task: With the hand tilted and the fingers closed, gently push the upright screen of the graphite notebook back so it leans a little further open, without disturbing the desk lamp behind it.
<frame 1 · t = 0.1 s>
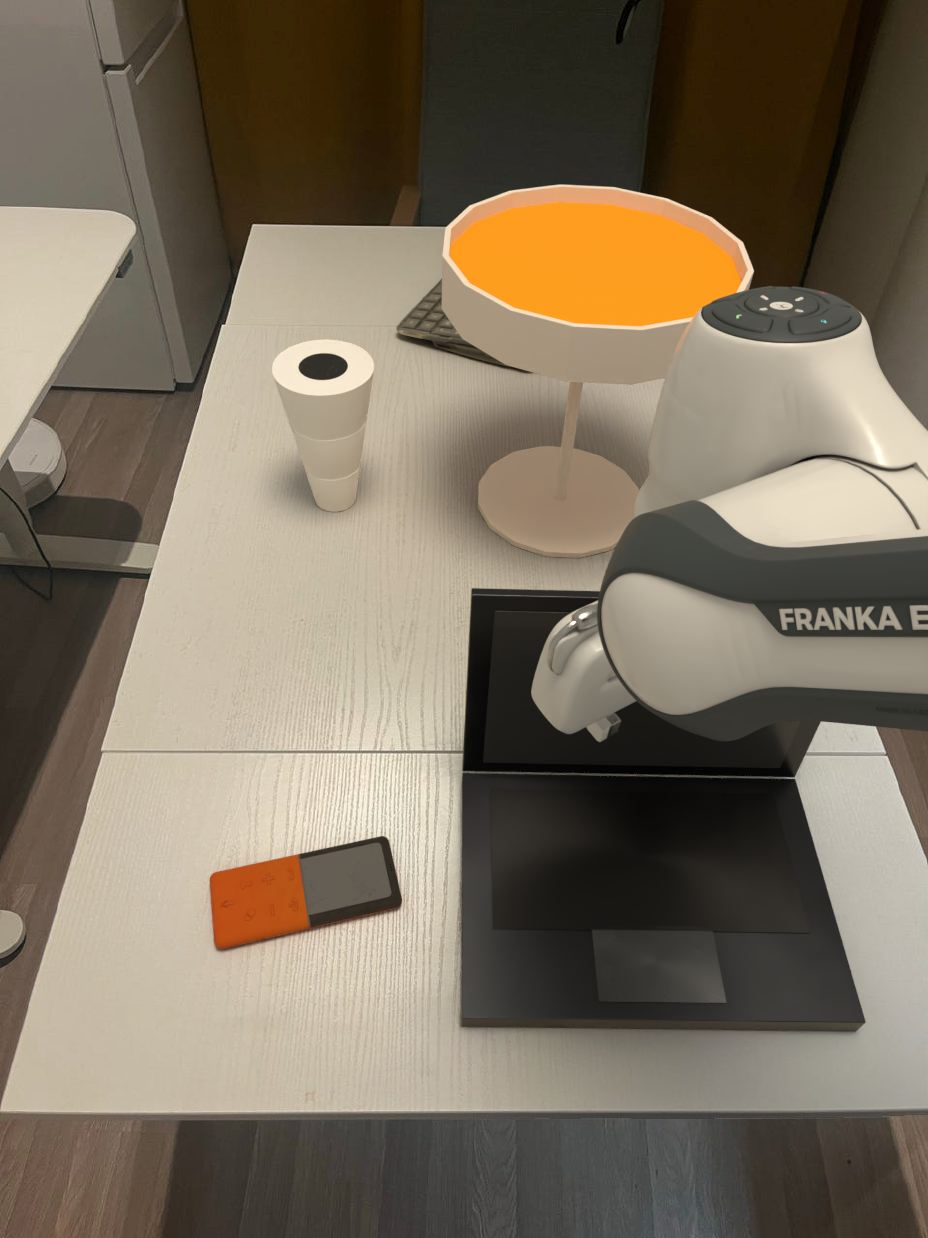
hand: (654, 702, 62), 21 cm above the table, tool pointing down, fingers open, 8 cm apart
notebook: (641, 897, 74), on the table
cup: (335, 499, 107), on the table
notebook screen: (649, 692, 73), point 12 cm above the table, hinge at 95.0°
phone: (306, 894, 74), on the table
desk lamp: (558, 502, 108), on the table
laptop: (512, 311, 138), on the table
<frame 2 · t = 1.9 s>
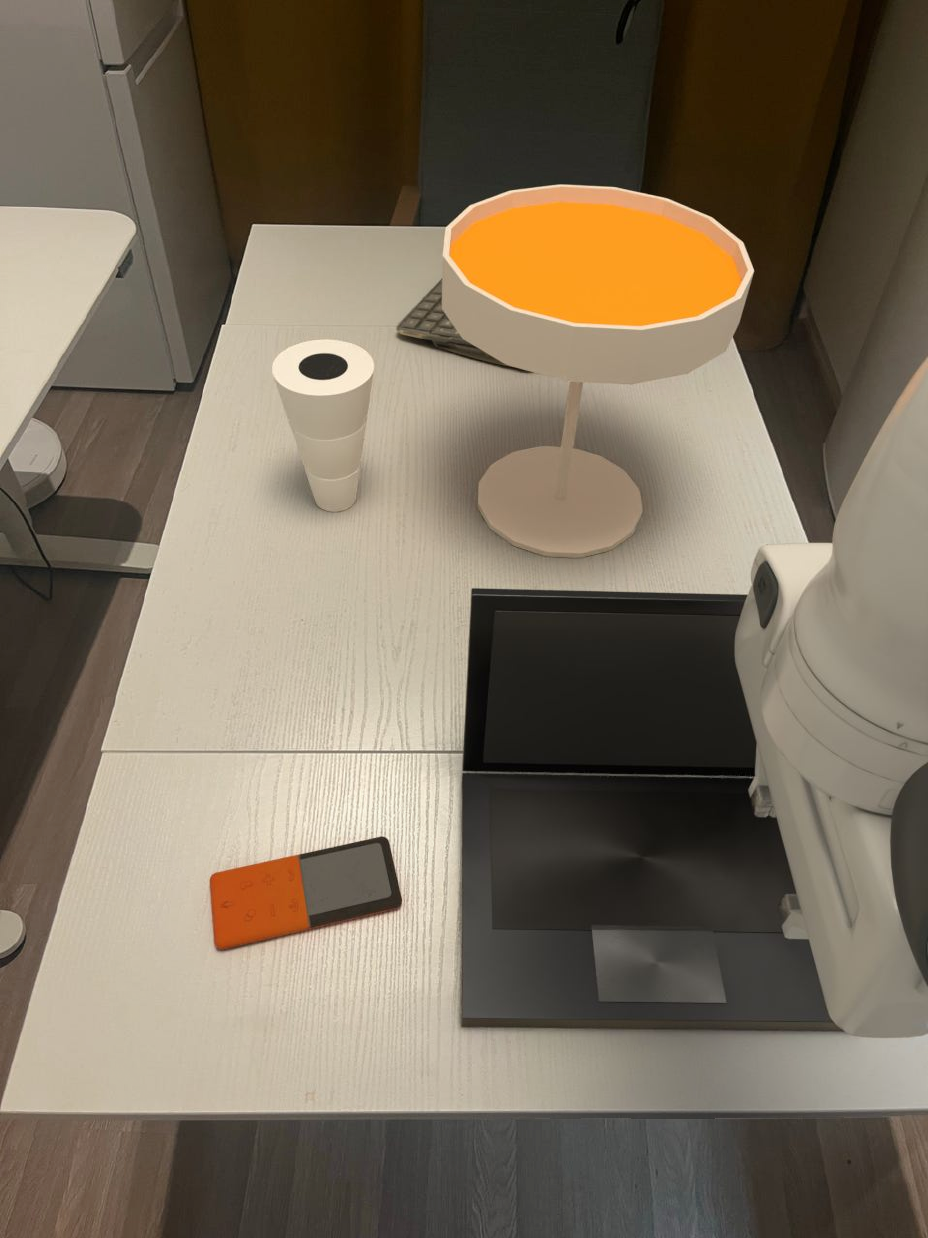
hand: (780, 862, 45), 29 cm above the table, tool pointing down, fingers open, 5 cm apart
nothing on the table moved.
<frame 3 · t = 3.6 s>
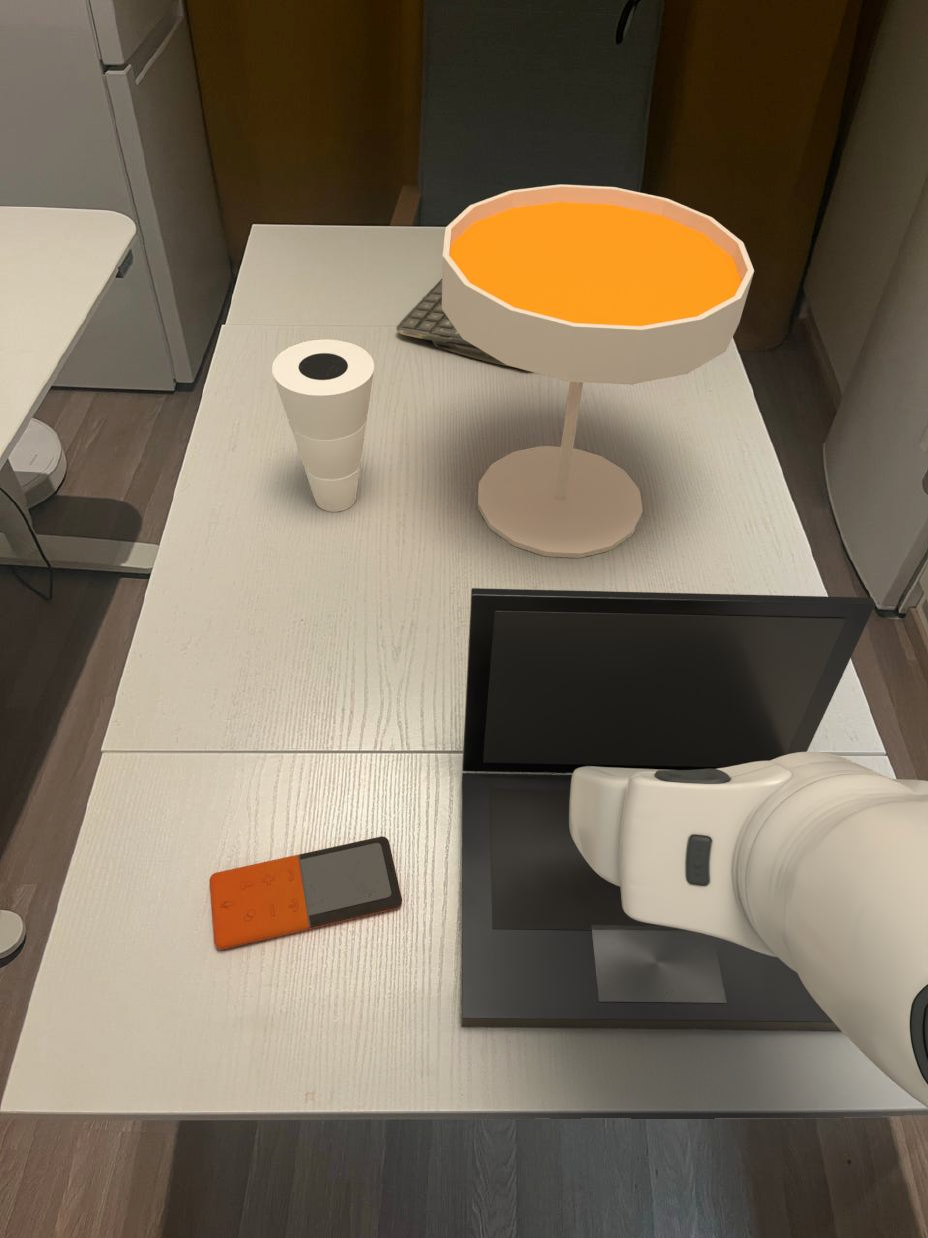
hand: (724, 783, 53), 25 cm above the table, tool tilted 45°, fingers closed
nothing on the table moved.
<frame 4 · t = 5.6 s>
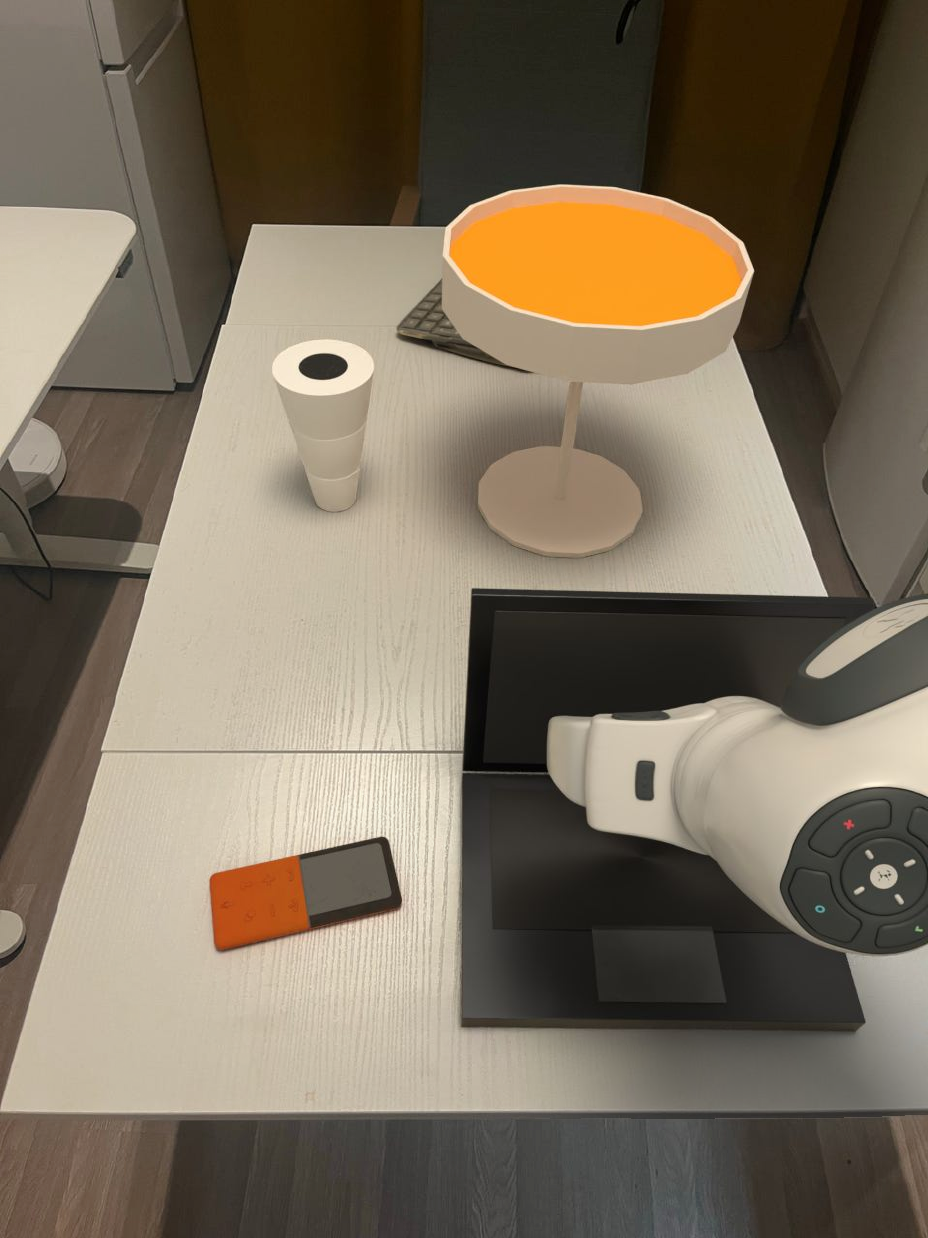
hand: (677, 731, 64), 18 cm above the table, tool tilted 45°, fingers closed
nothing on the table moved.
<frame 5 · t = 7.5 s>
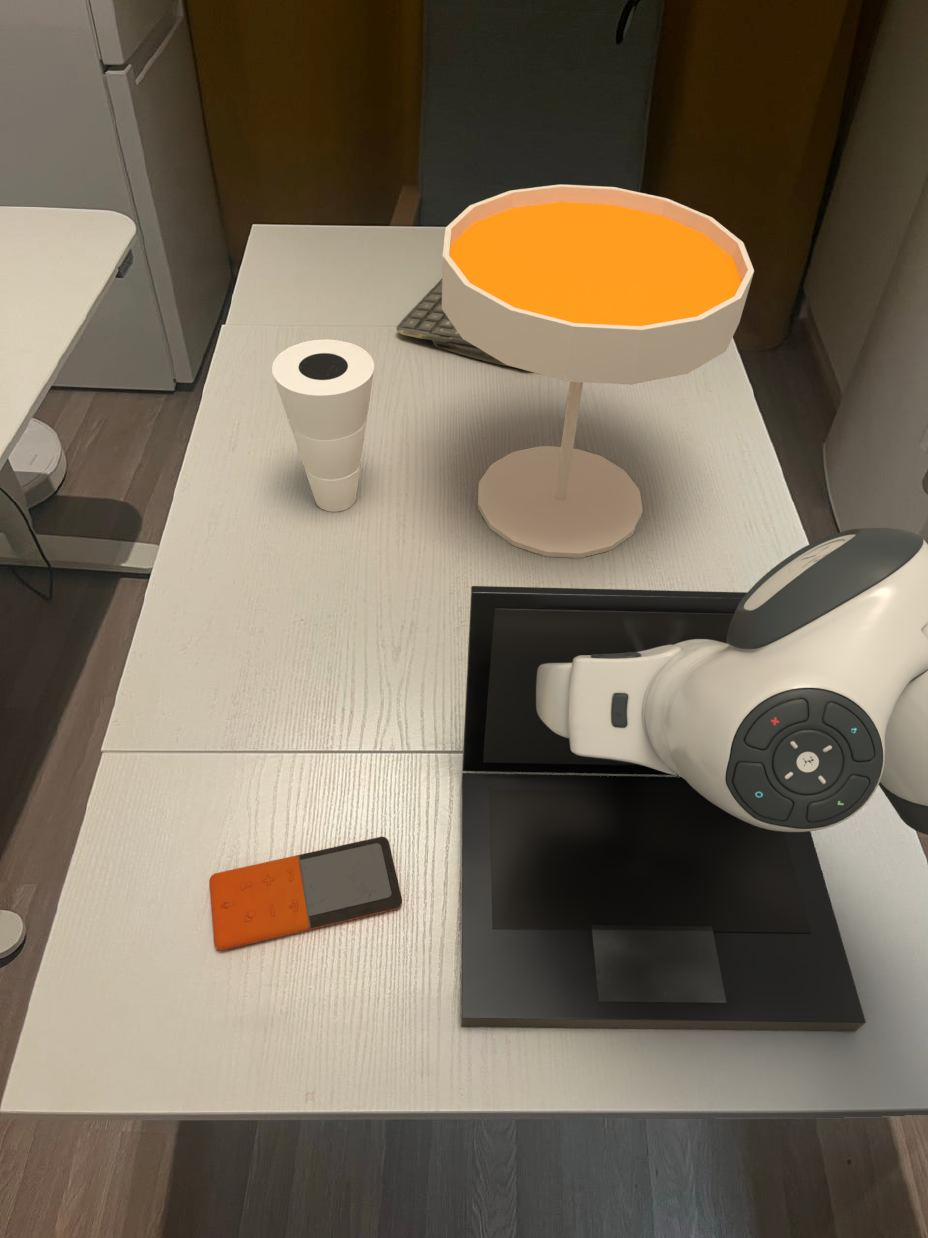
hand: (654, 682, 71), 15 cm above the table, tool tilted 45°, fingers closed, pressing on notebook screen
notebook screen: (649, 691, 73), point 12 cm above the table, hinge at 95.8°, touching gripper
everything else where it was.
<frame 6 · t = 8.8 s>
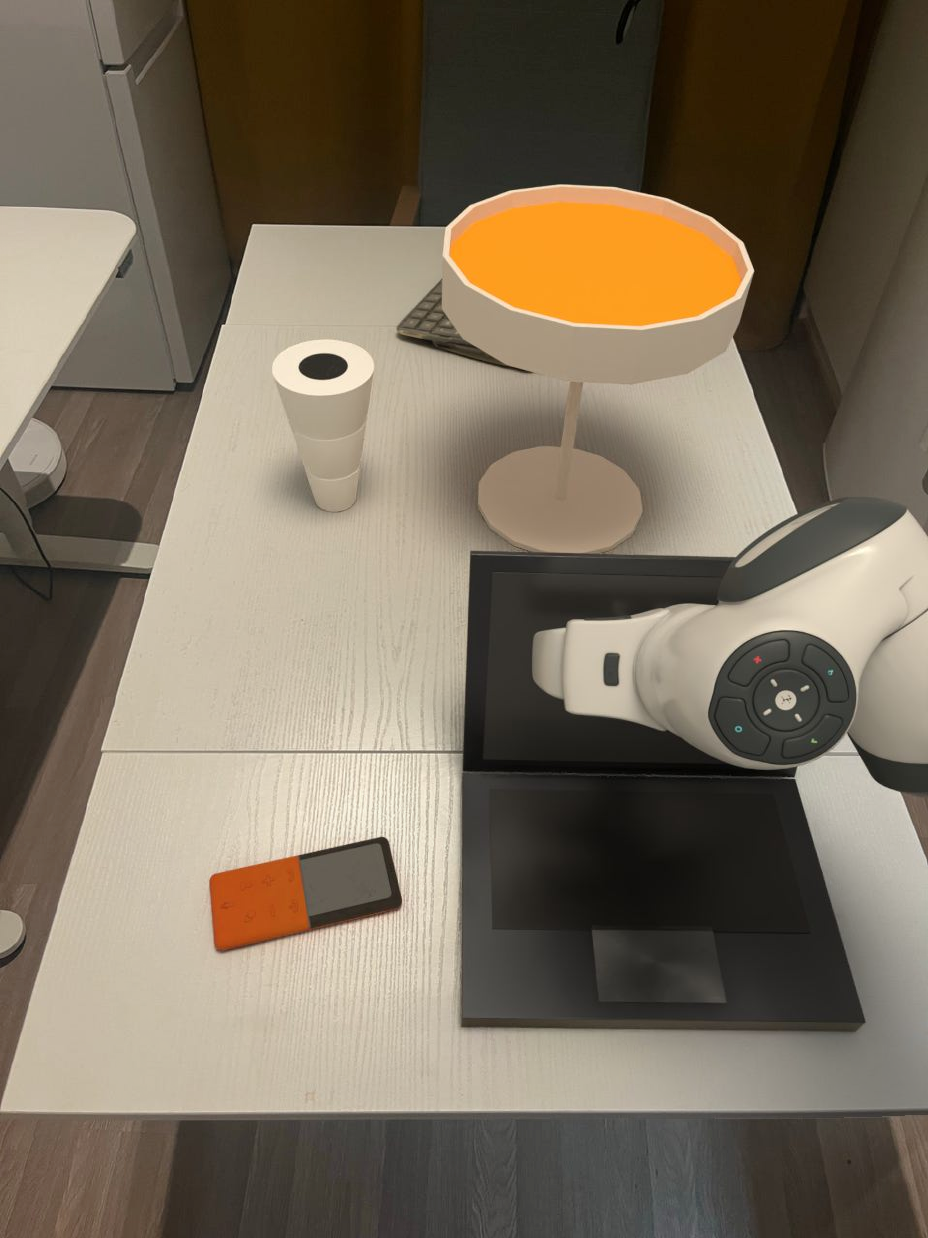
hand: (646, 653, 74), 14 cm above the table, tool tilted 45°, fingers closed, pressing on notebook screen
notebook screen: (642, 671, 76), point 12 cm above the table, hinge at 111.1°, touching gripper
everything else where it was.
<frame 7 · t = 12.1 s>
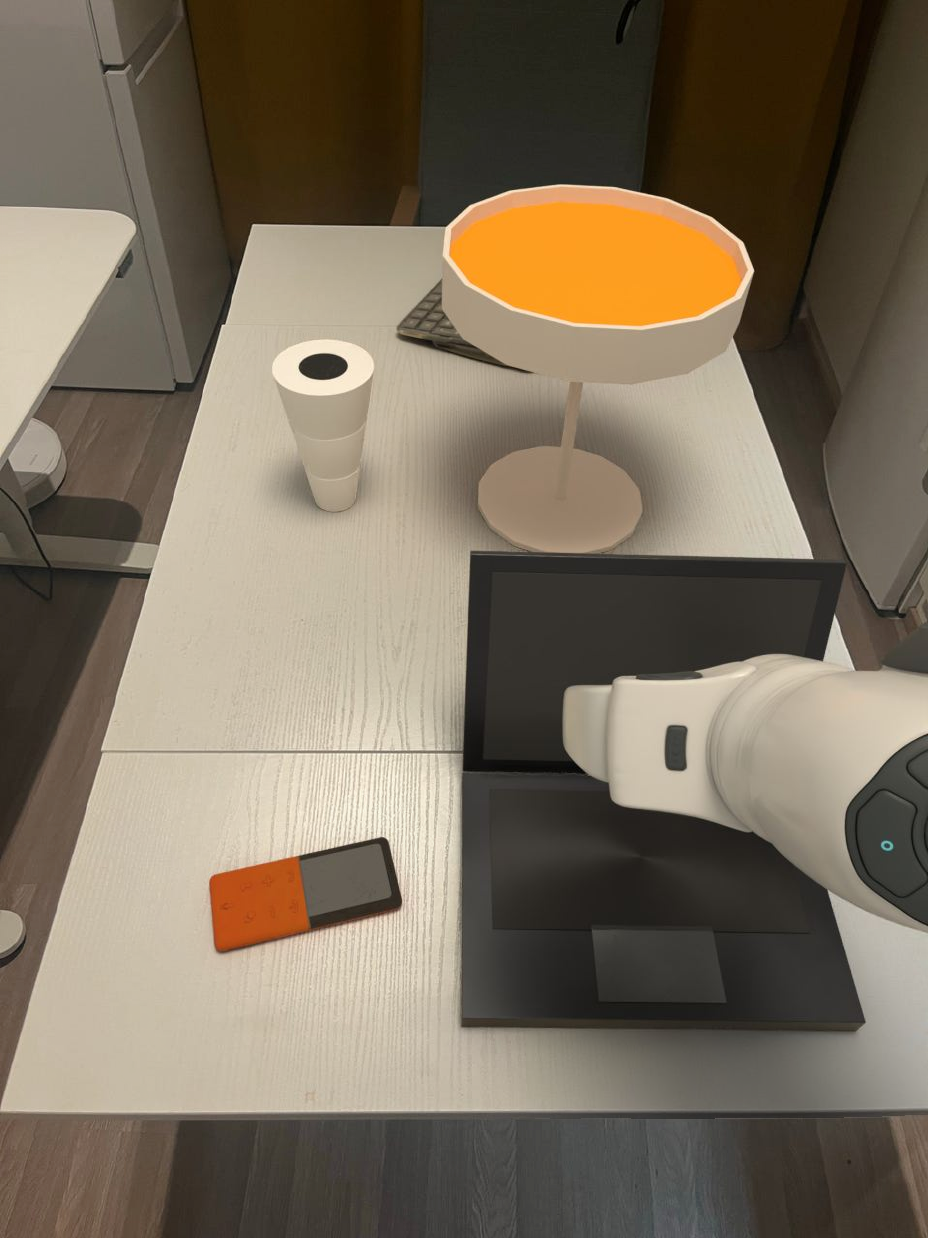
hand: (706, 706, 58), 24 cm above the table, tool tilted 45°, fingers closed
notebook screen: (642, 671, 76), point 12 cm above the table, hinge at 111.1°
everything else where it was.
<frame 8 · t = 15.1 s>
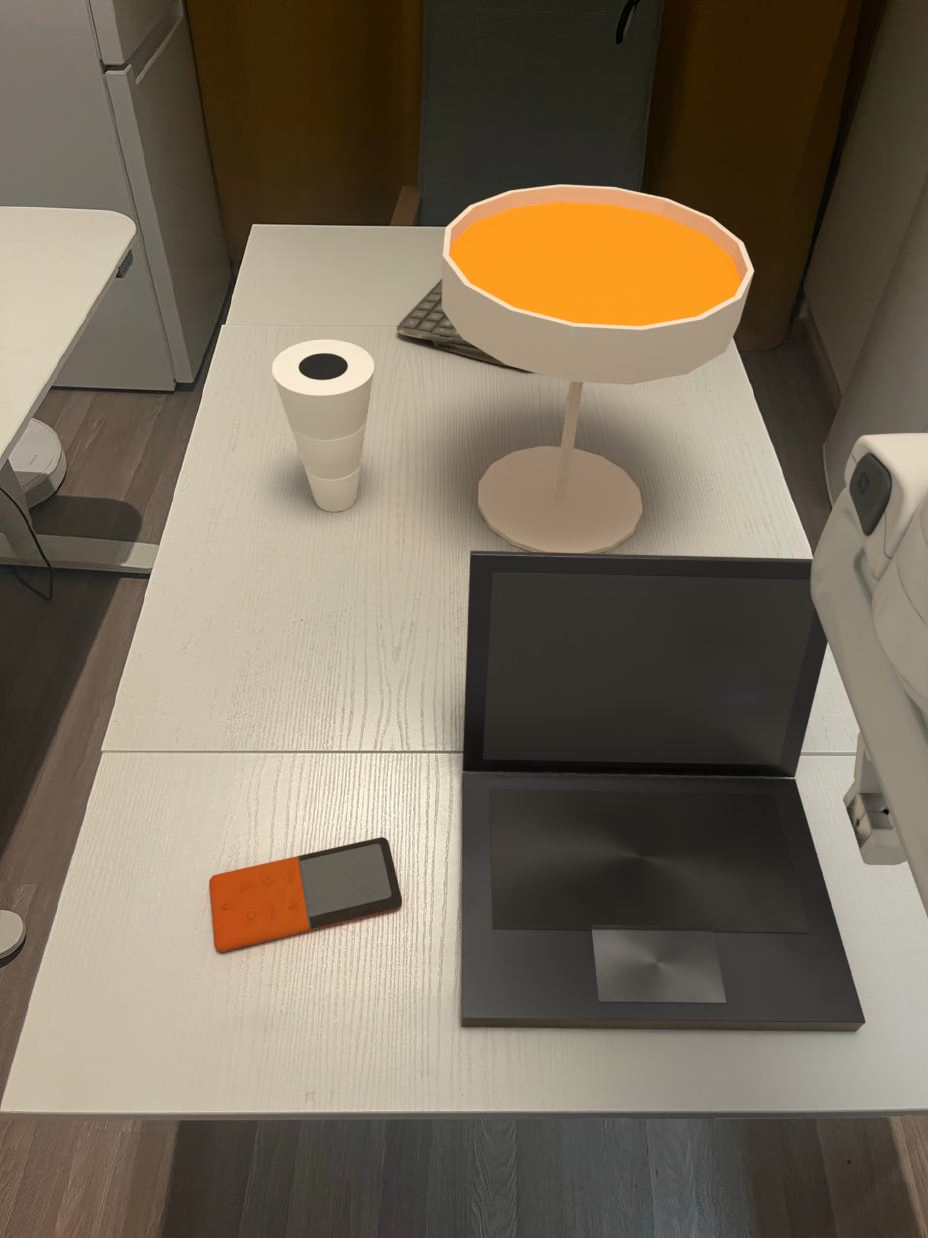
hand: (870, 833, 37), 37 cm above the table, tool pointing down, fingers closed
nothing on the table moved.
at the end: notebook screen at +111° (first picture: +95°); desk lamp moved 0.2 cm from its start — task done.
